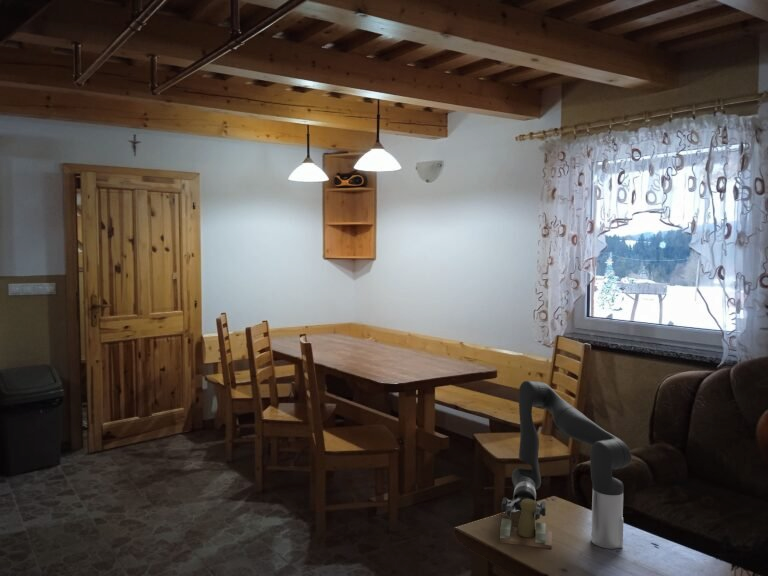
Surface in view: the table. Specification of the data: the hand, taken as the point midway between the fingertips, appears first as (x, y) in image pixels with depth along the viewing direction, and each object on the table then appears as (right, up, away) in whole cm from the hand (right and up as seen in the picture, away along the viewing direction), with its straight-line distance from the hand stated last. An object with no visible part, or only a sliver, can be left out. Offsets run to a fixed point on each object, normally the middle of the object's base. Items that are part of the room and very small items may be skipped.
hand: (522, 515), depth 199 cm
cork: (+2, -7, +3) cm, 7 cm away
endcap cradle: (0, -8, +2) cm, 8 cm away
